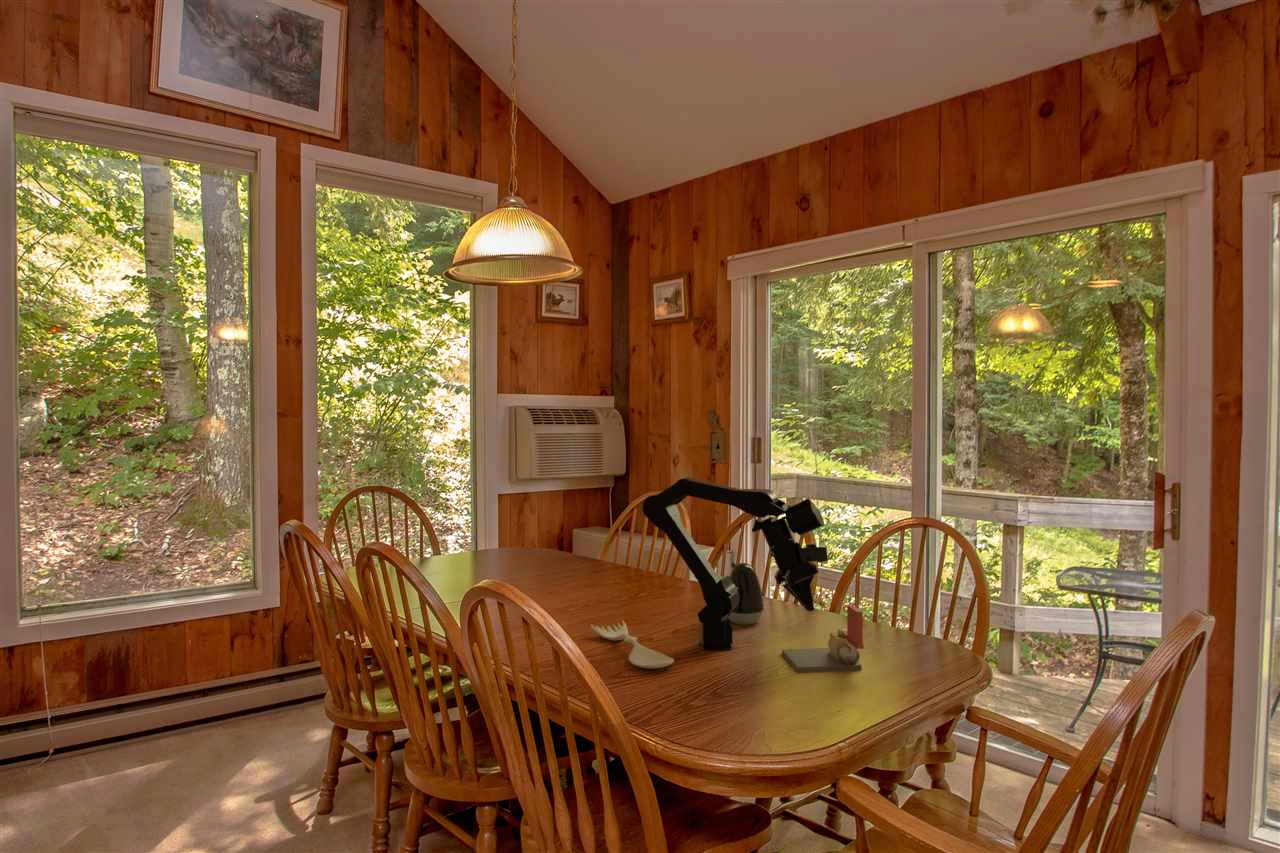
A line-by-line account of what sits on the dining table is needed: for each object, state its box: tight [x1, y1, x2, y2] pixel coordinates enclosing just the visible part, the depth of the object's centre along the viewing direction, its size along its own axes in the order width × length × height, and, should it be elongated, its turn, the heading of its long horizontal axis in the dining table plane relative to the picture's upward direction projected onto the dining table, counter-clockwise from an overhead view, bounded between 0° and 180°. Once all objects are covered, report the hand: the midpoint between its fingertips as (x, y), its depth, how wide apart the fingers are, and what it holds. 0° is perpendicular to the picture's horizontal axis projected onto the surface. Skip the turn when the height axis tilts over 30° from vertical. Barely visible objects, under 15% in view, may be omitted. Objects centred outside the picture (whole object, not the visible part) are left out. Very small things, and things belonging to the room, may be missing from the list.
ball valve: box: [827, 631, 861, 665], centre depth 166 cm, size 4×9×5 cm, turn 6°
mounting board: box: [781, 647, 862, 673], centre depth 168 cm, size 14×12×1 cm
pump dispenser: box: [728, 562, 765, 626], centre depth 199 cm, size 10×10×15 cm
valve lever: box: [837, 604, 865, 650], centre depth 162 cm, size 11×2×8 cm, turn 5°
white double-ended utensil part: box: [590, 620, 675, 670], centre depth 175 cm, size 9×32×4 cm, turn 23°
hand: (811, 610), depth 169 cm, fingers closed
